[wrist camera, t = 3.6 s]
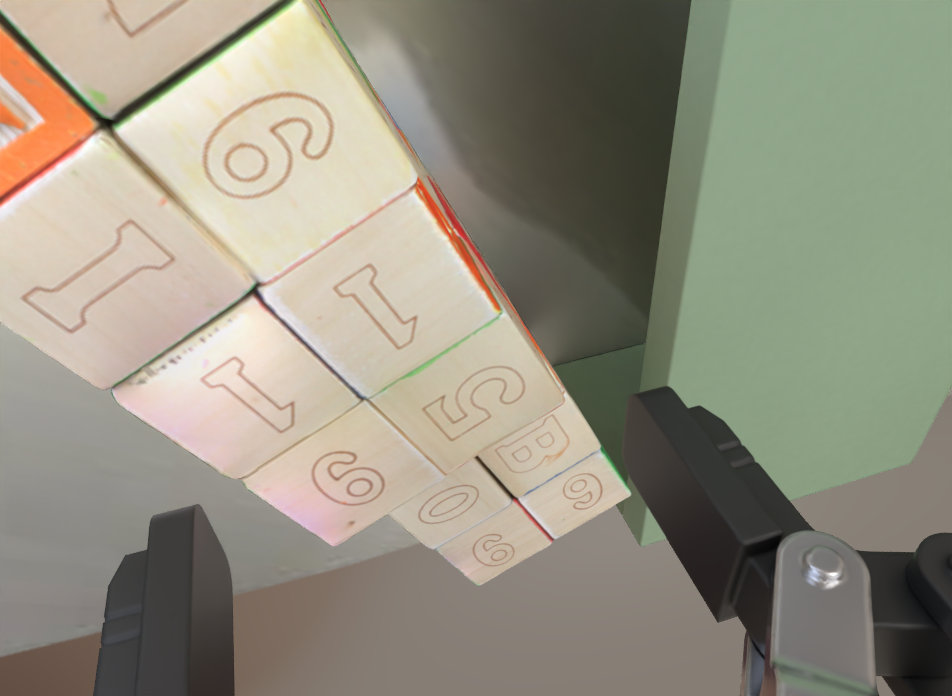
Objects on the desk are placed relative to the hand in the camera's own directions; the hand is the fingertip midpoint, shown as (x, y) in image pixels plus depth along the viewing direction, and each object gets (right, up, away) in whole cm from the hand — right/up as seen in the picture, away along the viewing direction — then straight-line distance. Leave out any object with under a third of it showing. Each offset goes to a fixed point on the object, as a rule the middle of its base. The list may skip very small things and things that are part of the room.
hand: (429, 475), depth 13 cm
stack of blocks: (-4, +8, +10) cm, 14 cm away
